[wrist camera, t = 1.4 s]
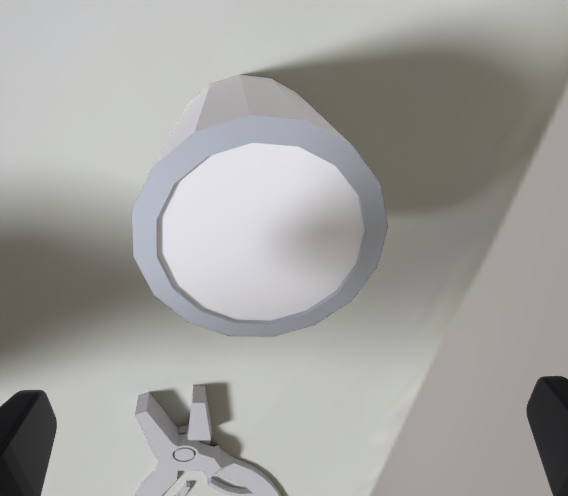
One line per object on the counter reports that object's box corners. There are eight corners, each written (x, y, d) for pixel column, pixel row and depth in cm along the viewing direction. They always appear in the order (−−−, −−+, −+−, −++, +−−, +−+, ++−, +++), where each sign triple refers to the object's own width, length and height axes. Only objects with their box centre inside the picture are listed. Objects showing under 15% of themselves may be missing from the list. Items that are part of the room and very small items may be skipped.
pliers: (141, 571, 32) (68, 423, 24) (144, 545, 33) (75, 397, 25) (290, 545, 32) (268, 392, 24) (287, 521, 34) (265, 369, 26)
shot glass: (118, 113, 18) (70, 200, 12) (289, 18, 17) (329, 60, 11) (216, 252, 21) (216, 372, 15) (360, 181, 20) (421, 279, 14)
